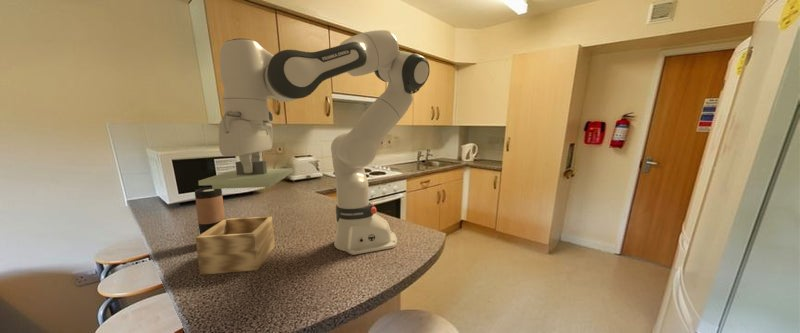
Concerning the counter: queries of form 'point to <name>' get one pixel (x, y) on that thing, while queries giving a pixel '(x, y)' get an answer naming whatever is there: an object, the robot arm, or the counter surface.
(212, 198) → the travel mug
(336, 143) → the robot arm
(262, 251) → the box
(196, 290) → the counter surface
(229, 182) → the lid
